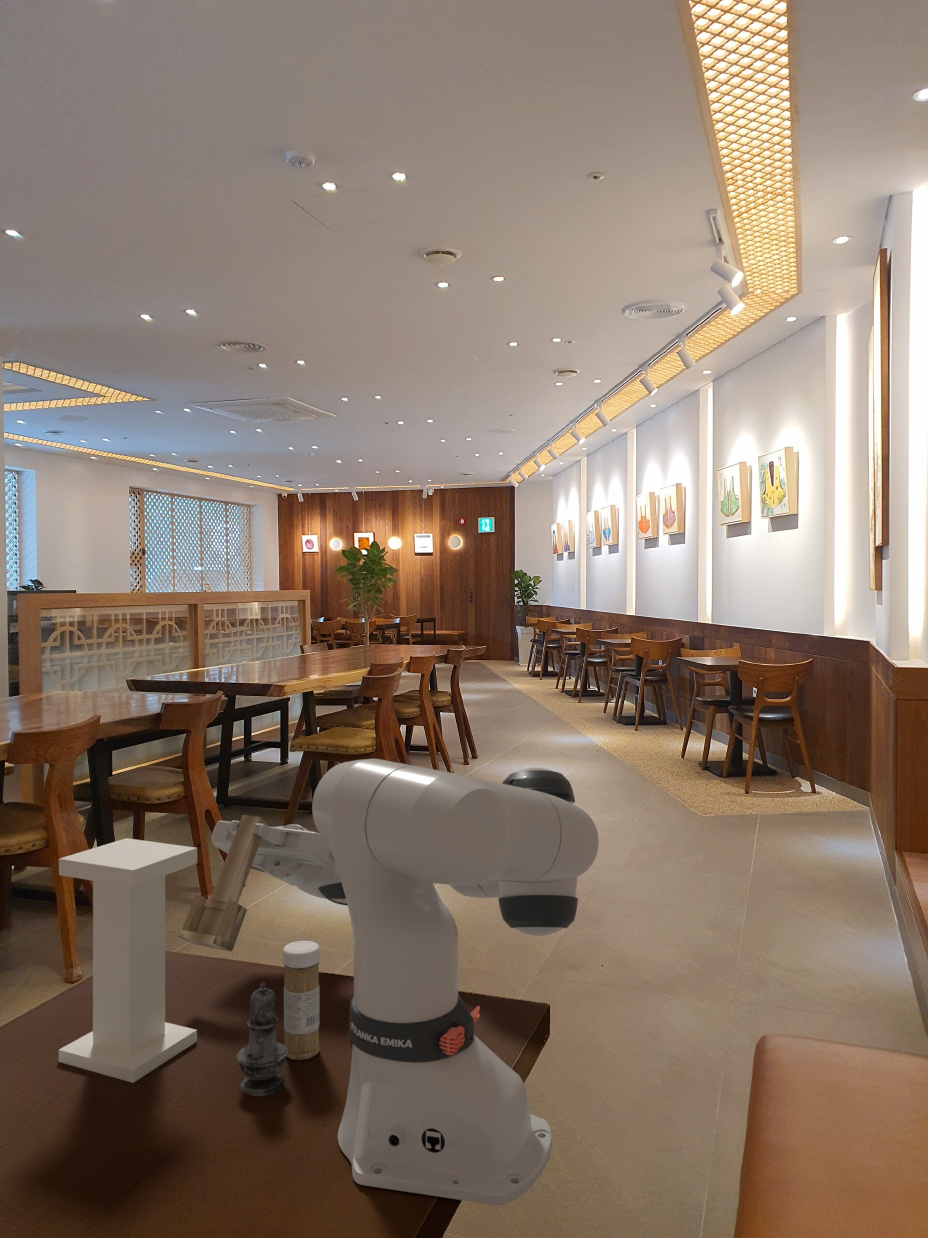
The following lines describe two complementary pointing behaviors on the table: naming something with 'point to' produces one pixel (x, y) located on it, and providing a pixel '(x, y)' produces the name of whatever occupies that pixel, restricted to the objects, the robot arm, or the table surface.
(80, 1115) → the table surface
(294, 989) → the sprinkles bottle
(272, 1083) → the dark tall tiered piece
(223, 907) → the scoop
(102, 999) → the pedestal shelf
